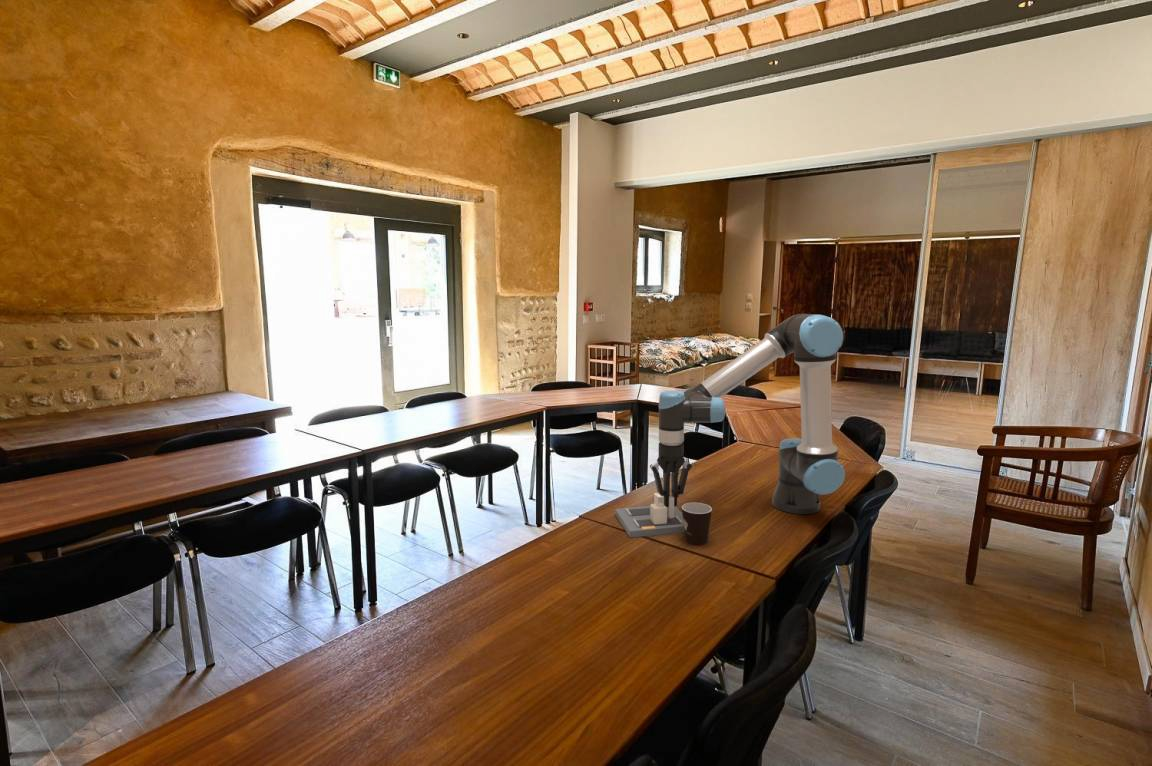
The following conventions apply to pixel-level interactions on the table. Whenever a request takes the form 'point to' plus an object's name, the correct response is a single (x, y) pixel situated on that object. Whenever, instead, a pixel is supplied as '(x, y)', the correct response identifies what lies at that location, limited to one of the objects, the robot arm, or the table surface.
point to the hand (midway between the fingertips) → (670, 516)
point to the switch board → (648, 522)
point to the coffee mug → (696, 522)
